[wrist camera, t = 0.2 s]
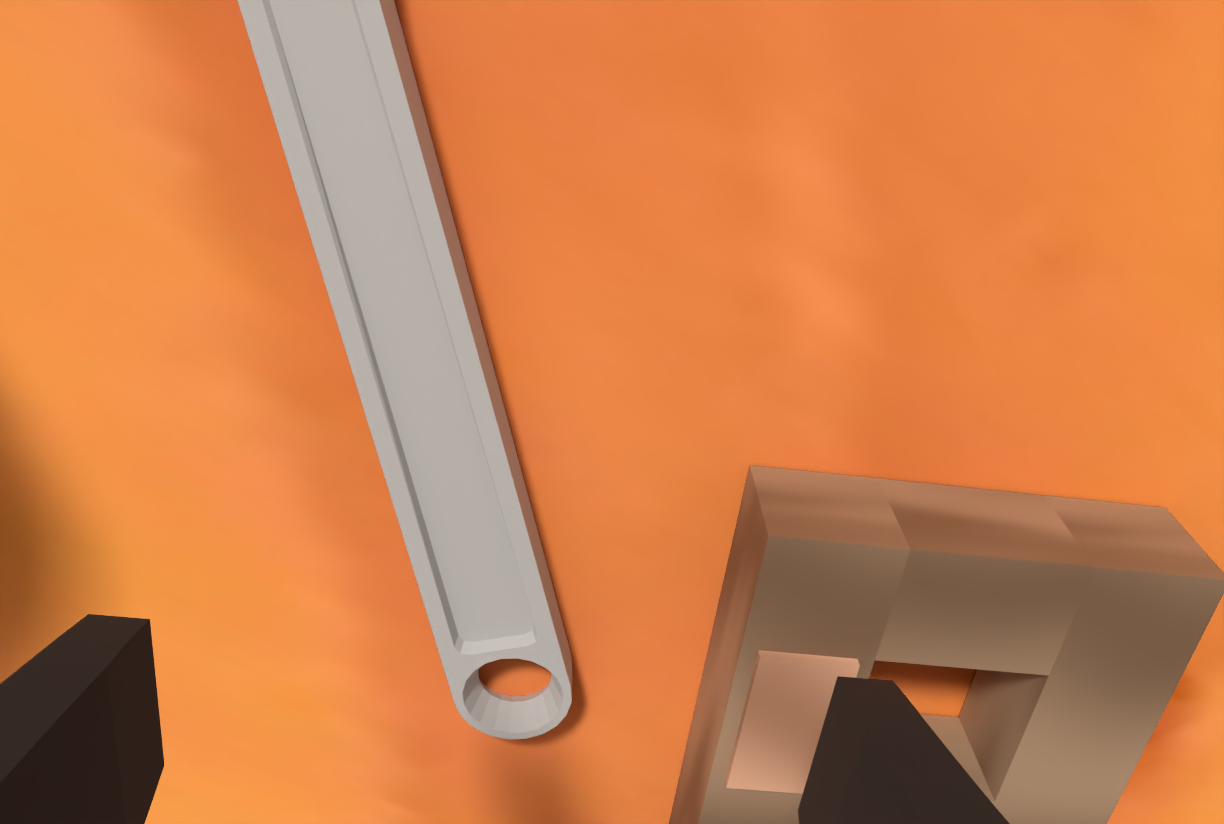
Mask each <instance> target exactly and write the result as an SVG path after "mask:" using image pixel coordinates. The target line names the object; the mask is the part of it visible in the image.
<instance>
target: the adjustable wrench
mask: <svg viewBox="0 0 1224 824" xmlns="http://www.w3.org/2000/svg"><path fill="white" fill-rule="evenodd" d="M238 3H239V7H240V10H241V13H242V16H243V20H244V23H245V26H246V29H247V33H248V36H249V39H250V42H251V46H252V49H253V52H254V55H255V58H256V62H257V65H258V68H259V71H260V75H261V78H262V81H263V84H264V88H265V91H266V94H267V97H268V101H269V104H270V107H271V110H272V114H273V117H274V120H275V123H276V126H277V130H278V133H279V136H280V139H281V143H282V146H283V149H284V152H285V156H286V159H287V162H288V165H289V169H290V172H291V175H292V178H293V182H294V185H295V188H296V191H297V194H298V198H299V201H300V204H301V207H302V211H303V214H304V217H305V220H306V224H307V227H308V230H309V233H310V237H311V240H312V243H313V246H314V250H315V253H316V256H317V259H318V262H319V266H320V269H321V272H322V275H323V279H324V282H325V285H326V288H327V292H328V295H329V298H330V301H331V305H332V308H333V311H334V314H335V318H336V321H337V324H338V327H339V330H340V334H341V337H342V340H343V343H344V347H345V350H346V353H347V356H348V360H349V363H350V366H351V369H352V373H353V376H354V379H355V382H356V386H357V389H358V392H359V395H360V398H361V402H362V405H363V408H364V411H365V415H366V418H367V421H368V424H369V428H370V431H371V434H372V437H373V441H374V444H375V447H376V450H377V454H378V457H379V460H380V463H381V466H382V470H383V473H384V476H385V479H386V483H387V486H388V489H389V492H390V496H391V499H392V502H393V505H394V509H395V512H396V515H397V518H398V522H399V525H400V528H401V531H402V534H403V538H404V541H405V544H406V547H407V551H408V554H409V557H410V560H411V564H412V567H413V570H414V573H415V577H416V580H417V583H418V586H419V590H420V593H421V596H422V599H423V602H424V606H425V609H426V612H427V615H428V619H429V622H430V625H431V628H432V632H433V635H434V638H435V641H436V645H437V648H438V651H439V654H440V658H441V661H442V664H443V667H444V670H445V674H446V677H447V680H448V683H449V687H450V690H451V693H452V696H453V700H454V703H455V706H456V707H457V709H458V711H459V713H460V714H461V716H462V718H463V719H464V720H465V721H467V722H468V723H469V724H470V725H471V726H472V727H473V728H475V729H477V730H479V731H481V732H483V733H485V734H487V735H489V736H494V737H499V738H504V739H527V738H531V737H534V736H538V735H542V734H544V733H546V732H547V731H549V730H551V729H552V728H554V727H556V726H557V725H558V724H559V723H560V722H561V721H562V720H563V718H564V717H565V716H566V715H567V713H568V710H569V708H570V705H571V702H572V655H571V652H570V648H569V644H568V641H567V637H566V633H565V629H564V626H563V622H562V618H561V615H560V611H559V607H558V604H557V600H556V596H555V593H554V589H553V585H552V581H551V578H550V574H549V570H548V567H547V563H546V559H545V556H544V552H543V548H542V545H541V541H540V537H539V533H538V530H537V526H536V522H535V519H534V515H533V511H532V508H531V504H530V500H529V497H528V493H527V489H526V485H525V482H524V478H523V474H522V471H521V467H520V463H519V460H518V456H517V452H516V449H515V445H514V441H513V437H512V434H511V430H510V426H509V423H508V419H507V415H506V412H505V408H504V404H503V400H502V397H501V393H500V389H499V386H498V382H497V378H496V375H495V371H494V367H493V364H492V360H491V356H490V352H489V349H488V345H487V341H486V338H485V334H484V330H483V327H482V323H481V319H480V316H479V312H478V308H477V304H476V301H475V297H474V293H473V290H472V286H471V282H470V279H469V275H468V271H467V268H466V264H465V260H464V256H463V253H462V249H461V245H460V242H459V238H458V234H457V231H456V227H455V223H454V220H453V216H452V212H451V208H450V205H449V201H448V197H447V194H446V190H445V186H444V183H443V179H442V175H441V171H440V168H439V164H438V160H437V157H436V153H435V149H434V146H433V142H432V138H431V135H430V131H429V127H428V123H427V120H426V116H425V112H424V109H423V105H422V101H421V98H420V94H419V90H418V87H417V83H416V79H415V75H414V72H413V68H412V64H411V61H410V57H409V53H408V50H407V46H406V42H405V39H404V35H403V31H402V27H401V24H400V20H399V16H398V13H397V9H396V5H395V2H394V0H238ZM517 658H518V659H522V660H527V661H532V662H534V663H536V664H538V665H540V666H542V667H544V668H546V669H548V670H549V671H550V672H551V680H550V683H549V684H548V685H547V686H546V687H545V688H543V689H541V690H540V691H538V692H536V693H532V694H528V695H525V696H510V695H505V694H500V693H498V692H496V691H494V690H492V689H490V688H488V687H487V686H486V685H485V684H484V683H482V682H481V681H480V679H479V675H478V670H479V667H481V666H483V665H484V664H486V663H489V662H492V661H496V660H499V659H517Z"/></svg>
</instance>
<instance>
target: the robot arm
mask: <svg viewBox="0 0 1224 824" xmlns="http://www.w3.org/2000/svg"><path fill="white" fill-rule="evenodd" d="M163 767H164V757H163V747H162V737H161V727H160V717H159V707H158V697H157V687H156V677H155V667H154V657H153V647H152V637H151V627H150V619H140V618H128V617H116V616H104V615H92V614H88V615H87V616H86V617H84V618H83V619H82V620H80V621H79V622H78V623H76V624H75V625H74V626H73V627H71V628H70V629H69V630H67V631H66V632H65V633H63V634H62V635H61V636H59V637H58V638H57V639H56V640H54V641H53V642H52V643H51V644H49V645H48V646H47V647H46V648H44V649H43V650H42V651H41V652H39V653H38V654H37V655H36V656H34V657H33V658H32V659H31V660H29V661H28V662H27V663H26V664H24V665H23V666H22V667H21V668H19V669H18V670H17V671H16V672H14V673H13V674H12V675H11V676H9V677H8V678H7V679H6V680H4V681H3V682H2V683H1V684H0V824H144V823H145V820H146V817H147V814H148V812H149V809H150V806H151V803H152V800H153V797H154V794H155V791H156V788H157V785H158V782H159V779H160V776H161V773H162V770H163ZM798 817H799V824H1010V823H1009V822H1008V821H1007V820H1006V819H1005V818H1004V816H1003V815H1002V814H1001V813H1000V812H999V811H998V809H997V808H996V807H995V806H994V805H993V803H992V802H991V801H990V800H989V799H988V797H987V796H986V795H985V794H984V793H983V791H982V790H981V789H980V788H979V787H978V785H977V784H976V783H975V782H974V781H973V779H972V778H971V777H970V776H969V774H968V773H967V772H966V771H965V769H964V768H963V767H962V766H961V765H960V763H959V762H958V761H957V760H956V758H955V757H954V756H953V755H952V753H951V752H950V751H949V750H948V749H947V747H946V746H945V745H944V744H943V742H942V741H941V740H940V739H939V737H938V736H937V735H936V734H935V732H934V731H933V730H932V729H931V727H930V726H929V725H928V724H927V722H926V721H925V720H924V719H923V717H922V716H921V715H920V714H919V712H918V711H917V710H916V709H915V707H914V706H913V705H912V704H911V702H910V701H909V700H908V699H907V697H906V696H905V695H904V694H903V692H902V691H901V690H900V689H899V688H898V686H897V685H896V684H895V683H894V682H893V681H889V680H877V679H865V678H853V677H841V676H838V677H837V680H836V683H835V687H834V690H833V693H832V697H831V700H830V704H829V707H828V710H827V714H826V717H825V720H824V724H823V727H822V730H821V734H820V737H819V741H818V744H817V747H816V751H815V754H814V757H813V761H812V764H811V768H810V771H809V774H808V778H807V781H806V784H805V788H804V791H803V794H802V798H801V801H800V805H799V808H798Z"/></svg>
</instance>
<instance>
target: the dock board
mask: <svg viewBox="0 0 1224 824" xmlns="http://www.w3.org/2000/svg"><path fill="white" fill-rule="evenodd" d="M1223 594H1224V573H1223V572H1222V570H1221V569H1220V568H1219V567H1218V566H1217V565H1216V564H1215V562H1214V561H1213V560H1212V559H1211V558H1210V557H1209V556H1208V555H1207V553H1206V552H1205V551H1204V550H1203V549H1202V548H1201V547H1200V546H1199V544H1198V543H1197V542H1196V541H1195V540H1194V539H1193V538H1192V537H1191V535H1190V534H1189V533H1188V532H1187V531H1186V530H1185V529H1184V527H1183V526H1182V525H1181V524H1180V523H1179V522H1178V521H1177V520H1176V518H1175V517H1174V516H1173V515H1172V514H1171V513H1170V512H1169V511H1168V509H1167V508H1163V507H1153V506H1143V505H1134V504H1124V503H1114V502H1104V501H1094V500H1085V499H1075V498H1065V497H1055V496H1045V495H1036V494H1026V493H1016V492H1006V491H997V490H987V489H977V488H967V487H957V486H948V485H938V484H928V483H918V482H908V481H899V480H889V479H879V478H869V477H860V476H850V475H840V474H830V473H820V472H811V471H801V470H791V469H781V468H771V467H762V466H752V465H750V466H749V471H748V475H747V479H746V484H745V488H744V493H743V497H742V502H741V506H740V511H739V515H738V519H737V524H736V528H735V533H734V537H733V542H732V546H731V551H730V555H729V559H728V564H727V568H726V573H725V577H724V582H723V586H722V591H721V595H720V599H719V604H718V608H717V613H716V617H715V622H714V626H713V631H712V635H711V639H710V644H709V648H708V653H707V657H706V662H705V666H704V671H703V675H702V679H701V684H700V688H699V693H698V697H697V702H696V706H695V711H694V715H693V719H692V724H691V728H690V733H689V737H688V742H687V746H686V751H685V755H684V759H683V764H682V768H681V773H680V777H679V782H678V786H677V791H676V795H675V799H674V804H673V808H672V813H671V817H670V822H669V824H799V817H798V808H799V805H800V801H801V798H802V794H803V791H804V788H805V784H806V781H807V778H808V774H809V771H810V768H811V764H812V761H813V757H814V754H815V751H816V747H817V744H818V741H819V737H820V734H821V730H822V727H823V724H824V720H825V717H826V714H827V710H828V707H829V704H830V700H831V697H832V693H833V690H834V687H835V683H836V680H837V677H838V676H841V677H853V678H865V679H869V677H870V674H871V670H872V667H873V664H874V661H875V660H876V661H888V662H899V663H911V664H922V665H933V666H945V667H956V668H968V669H977V671H976V673H975V676H974V679H973V681H972V684H971V686H970V689H969V692H968V694H967V697H966V699H965V702H964V704H963V707H962V710H961V712H960V715H959V717H950V716H938V715H926V714H920V715H921V716H922V717H923V719H924V720H925V721H926V722H927V724H928V725H929V726H930V727H931V729H932V730H933V731H934V732H935V734H936V735H937V736H938V737H939V739H940V740H941V741H942V742H943V744H944V745H945V746H946V747H947V749H948V750H949V751H950V752H951V753H952V755H953V756H954V757H955V758H956V760H957V761H958V762H959V763H960V765H961V766H962V767H963V768H964V769H965V771H966V772H967V773H968V774H969V776H970V777H971V778H972V779H973V781H974V782H975V783H976V784H977V785H978V787H979V788H980V789H981V790H982V791H983V793H984V794H985V795H986V796H987V797H988V799H989V800H990V801H991V802H992V803H993V805H994V806H995V807H996V808H997V809H998V811H999V812H1000V813H1001V814H1002V815H1003V816H1004V818H1005V819H1006V820H1007V821H1008V822H1009V823H1010V824H1107V822H1108V820H1109V818H1110V816H1111V814H1112V812H1113V810H1114V808H1115V806H1116V805H1117V803H1118V801H1119V799H1120V797H1121V795H1122V793H1123V791H1124V789H1125V787H1126V785H1127V783H1128V781H1129V779H1130V777H1131V775H1132V773H1133V771H1134V769H1135V767H1136V765H1137V763H1138V761H1139V759H1140V757H1141V755H1142V753H1143V751H1144V749H1145V747H1146V745H1147V743H1148V741H1149V739H1150V738H1151V736H1152V734H1153V732H1154V730H1155V728H1156V726H1157V724H1158V722H1159V720H1160V718H1161V716H1162V714H1163V712H1164V710H1165V708H1166V706H1167V704H1168V702H1169V700H1170V698H1171V696H1172V694H1173V692H1174V690H1175V688H1176V686H1177V684H1178V682H1179V680H1180V678H1181V676H1182V674H1183V672H1184V671H1185V669H1186V667H1187V665H1188V663H1189V661H1190V659H1191V657H1192V655H1193V653H1194V651H1195V649H1196V647H1197V645H1198V643H1199V641H1200V639H1201V637H1202V635H1203V633H1204V631H1205V629H1206V627H1207V625H1208V623H1209V621H1210V619H1211V617H1212V615H1213V613H1214V611H1215V609H1216V607H1217V605H1218V603H1219V602H1220V600H1221V598H1222V596H1223Z"/></svg>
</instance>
